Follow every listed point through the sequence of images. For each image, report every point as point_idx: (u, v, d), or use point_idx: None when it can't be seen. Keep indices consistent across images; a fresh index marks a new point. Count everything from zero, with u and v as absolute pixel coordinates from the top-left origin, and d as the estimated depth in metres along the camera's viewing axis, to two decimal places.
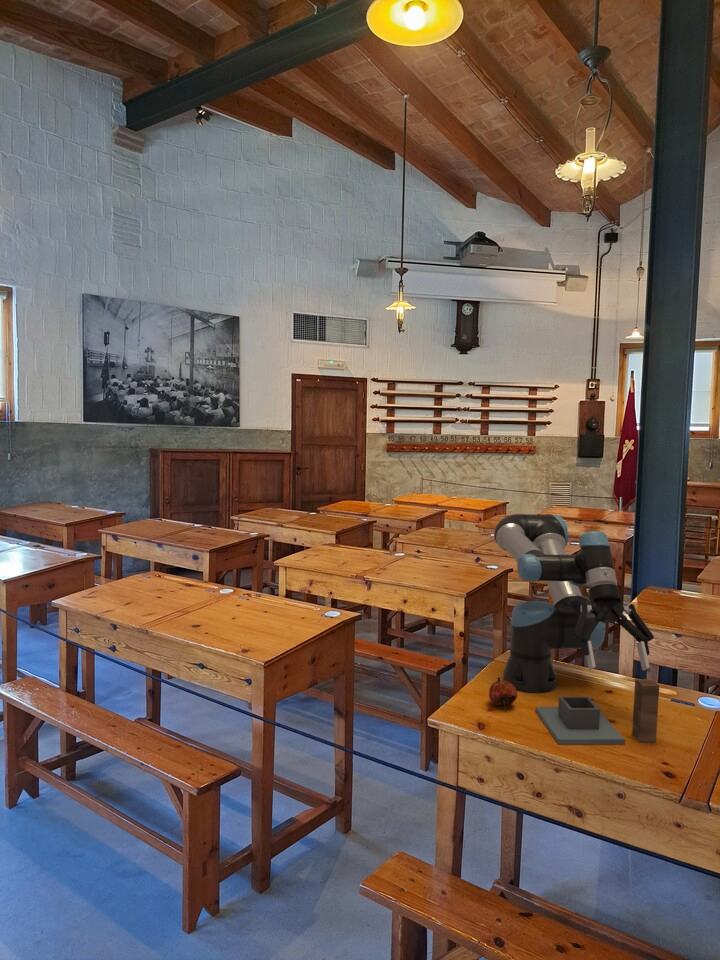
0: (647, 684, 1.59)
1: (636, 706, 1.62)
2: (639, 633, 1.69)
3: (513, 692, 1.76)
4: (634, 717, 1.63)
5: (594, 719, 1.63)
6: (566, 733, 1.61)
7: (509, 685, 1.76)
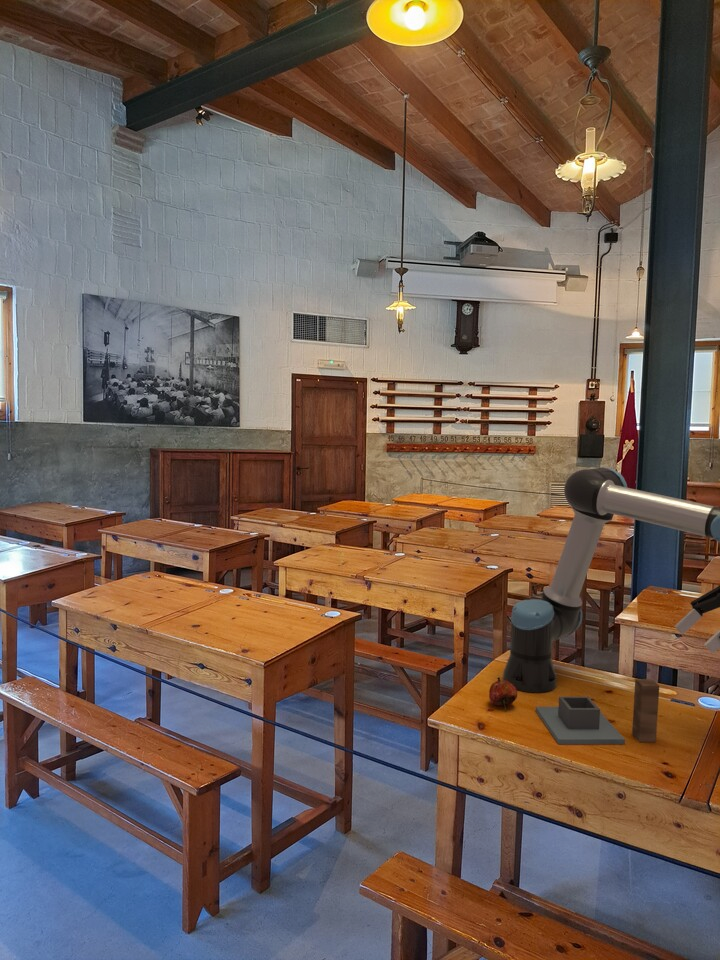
0: (647, 684, 1.59)
1: (636, 706, 1.62)
2: None
3: (513, 692, 1.76)
4: (634, 717, 1.63)
5: (594, 719, 1.63)
6: (566, 733, 1.61)
7: (509, 685, 1.76)
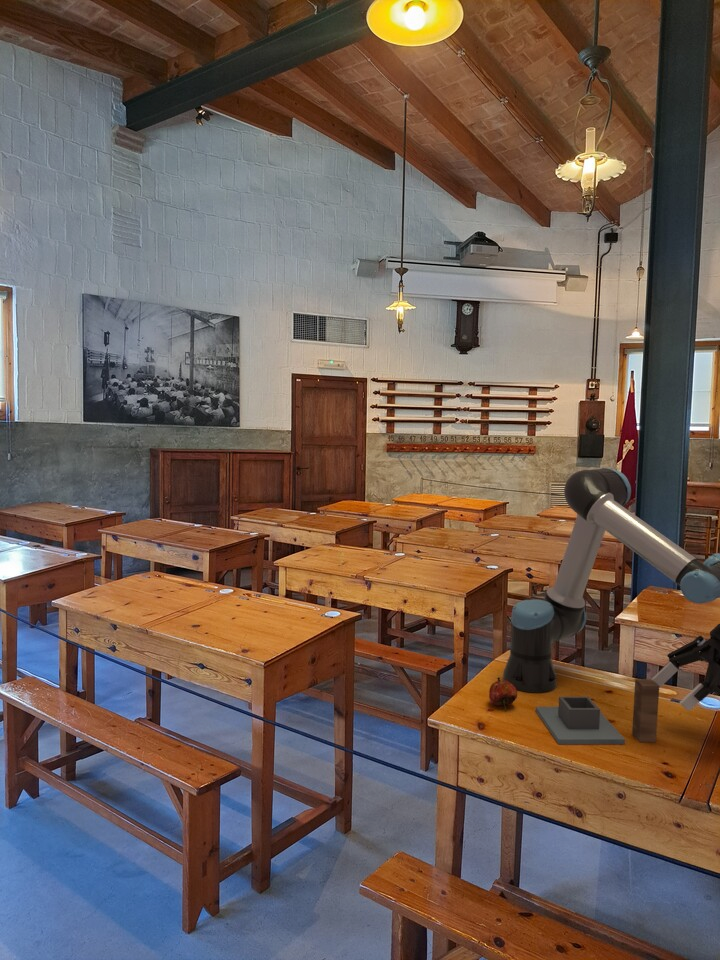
0: (647, 684, 1.59)
1: (636, 706, 1.62)
2: None
3: (513, 692, 1.76)
4: (634, 717, 1.63)
5: (594, 719, 1.63)
6: (566, 733, 1.61)
7: (509, 685, 1.76)
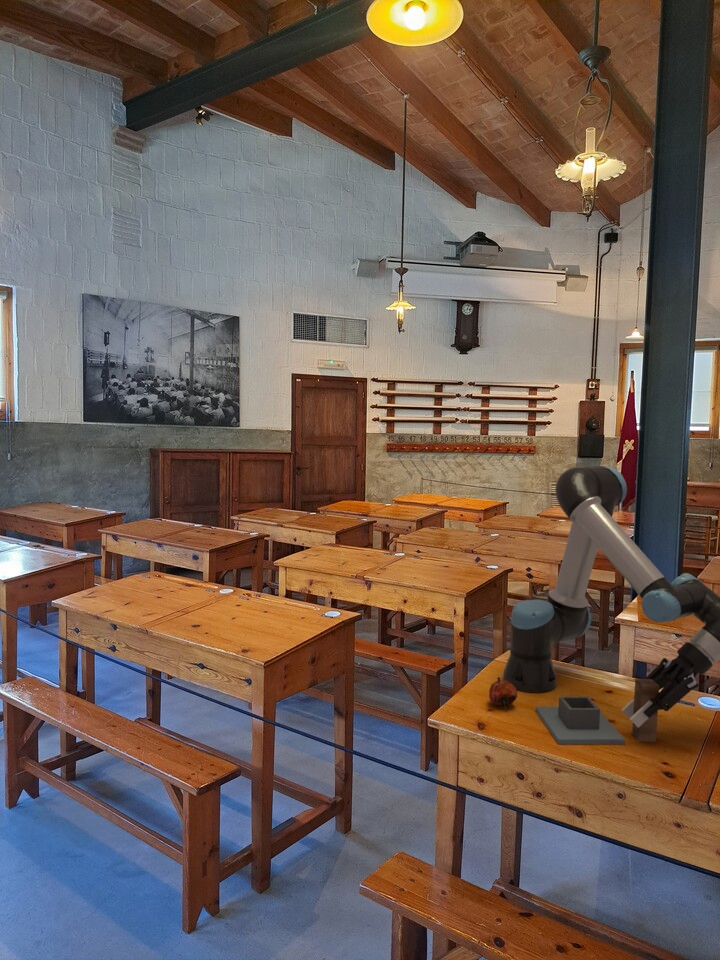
0: (647, 684, 1.59)
1: (636, 706, 1.62)
2: None
3: (513, 692, 1.76)
4: None
5: (594, 719, 1.63)
6: (566, 733, 1.61)
7: (509, 685, 1.76)
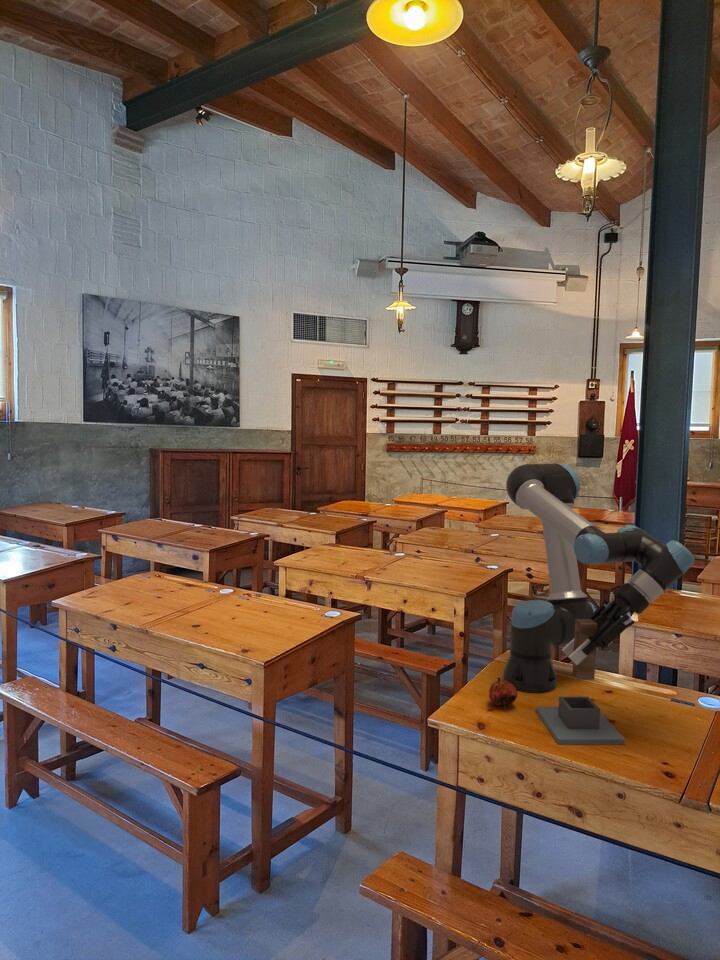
0: (586, 623, 1.63)
1: (575, 645, 1.66)
2: None
3: (513, 692, 1.76)
4: None
5: (594, 719, 1.63)
6: (566, 733, 1.61)
7: (509, 685, 1.76)
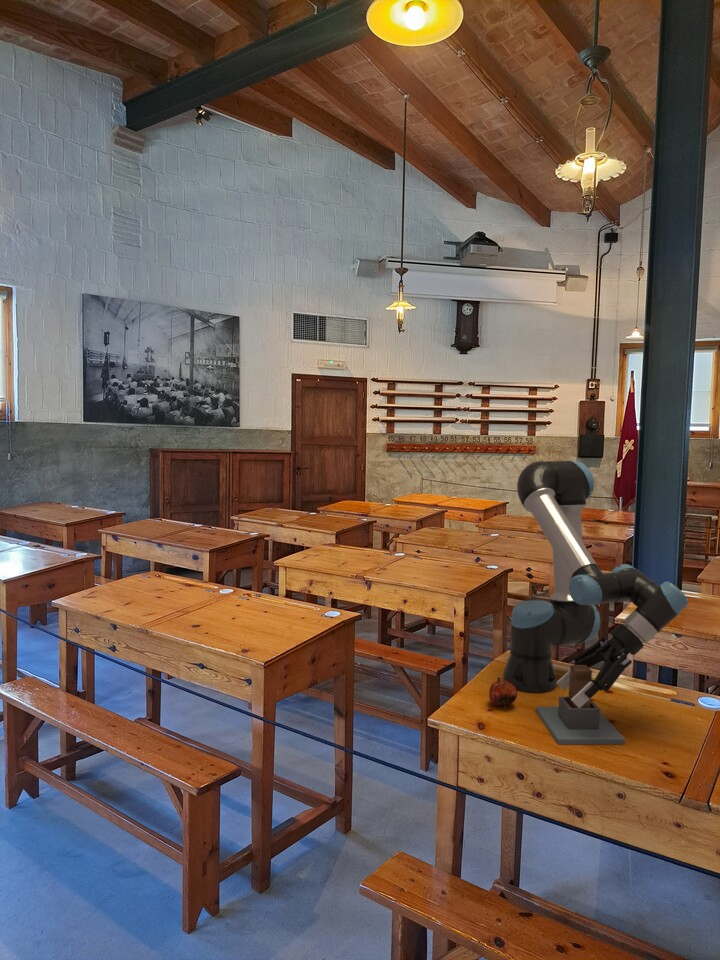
0: (580, 669, 1.65)
1: (570, 691, 1.67)
2: None
3: (513, 692, 1.76)
4: (569, 701, 1.68)
5: (594, 719, 1.63)
6: (566, 733, 1.61)
7: (509, 685, 1.76)
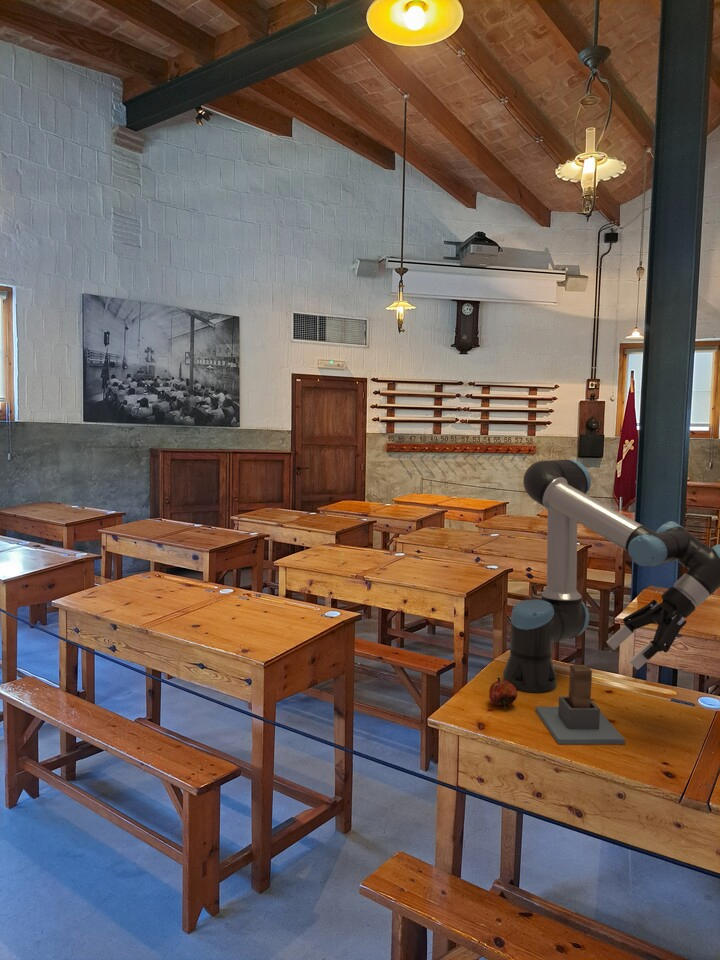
0: (580, 669, 1.65)
1: (570, 691, 1.67)
2: None
3: (513, 692, 1.76)
4: (569, 701, 1.68)
5: (594, 719, 1.63)
6: (566, 733, 1.61)
7: (509, 685, 1.76)
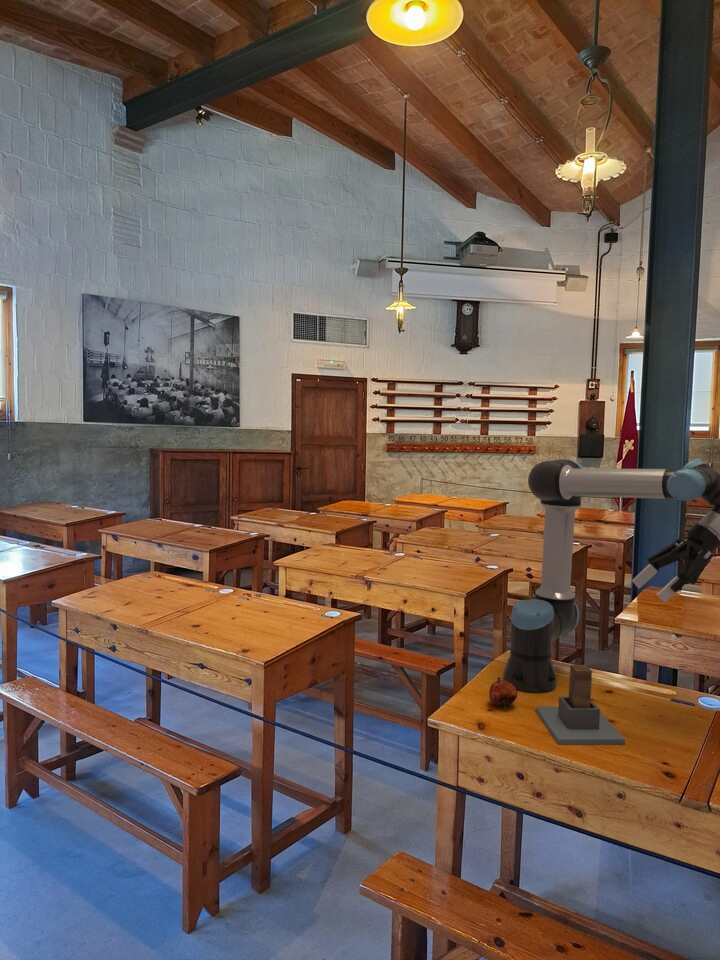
0: (580, 669, 1.65)
1: (570, 691, 1.67)
2: None
3: (513, 692, 1.76)
4: (569, 701, 1.68)
5: (594, 719, 1.63)
6: (566, 733, 1.61)
7: (509, 685, 1.76)
